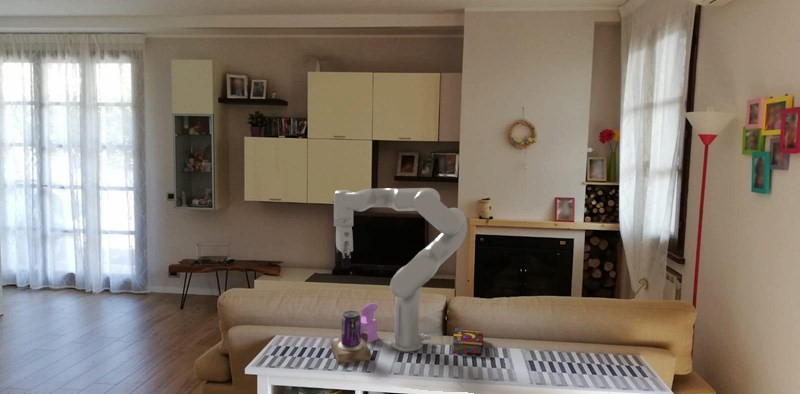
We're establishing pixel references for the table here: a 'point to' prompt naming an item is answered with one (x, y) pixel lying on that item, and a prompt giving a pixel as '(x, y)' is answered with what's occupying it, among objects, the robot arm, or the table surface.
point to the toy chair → (369, 322)
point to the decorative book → (468, 342)
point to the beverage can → (351, 329)
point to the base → (350, 352)
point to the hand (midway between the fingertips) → (343, 264)
